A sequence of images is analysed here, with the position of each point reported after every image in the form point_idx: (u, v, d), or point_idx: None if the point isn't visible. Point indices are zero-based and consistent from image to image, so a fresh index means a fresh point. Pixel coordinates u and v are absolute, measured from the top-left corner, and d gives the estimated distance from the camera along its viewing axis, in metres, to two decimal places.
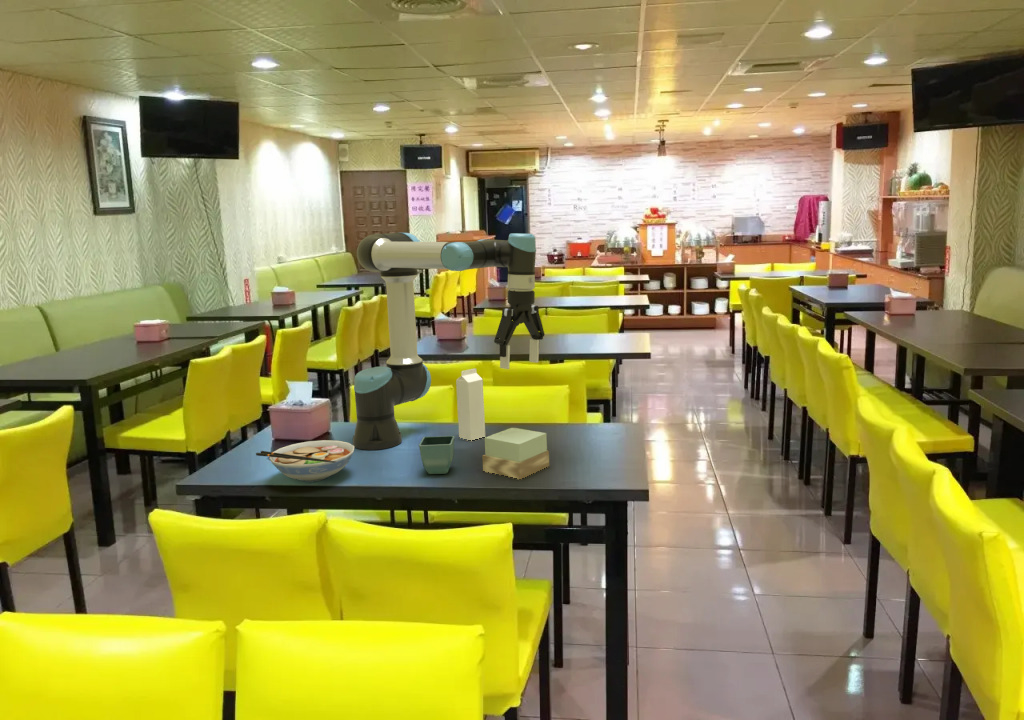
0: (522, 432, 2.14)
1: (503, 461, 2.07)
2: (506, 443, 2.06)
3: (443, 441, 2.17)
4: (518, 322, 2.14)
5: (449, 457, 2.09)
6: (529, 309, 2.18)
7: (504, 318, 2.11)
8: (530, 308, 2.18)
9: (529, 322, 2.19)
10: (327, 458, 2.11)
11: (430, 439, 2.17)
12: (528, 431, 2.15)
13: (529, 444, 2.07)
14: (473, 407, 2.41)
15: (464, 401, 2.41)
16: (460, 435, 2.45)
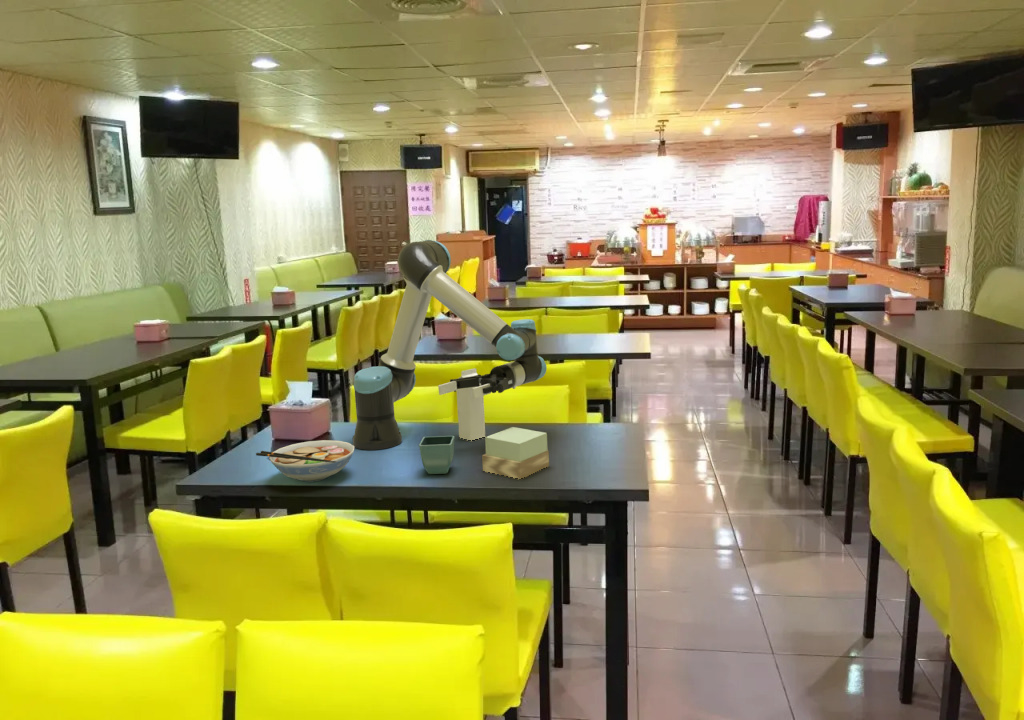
0: (522, 432, 2.15)
1: (503, 461, 2.07)
2: (506, 443, 2.07)
3: (443, 441, 2.17)
4: None
5: (449, 457, 2.09)
6: None
7: (507, 382, 2.23)
8: None
9: (478, 385, 2.29)
10: (327, 458, 2.11)
11: (430, 439, 2.17)
12: (529, 431, 2.16)
13: (530, 443, 2.08)
14: (473, 407, 2.41)
15: (464, 401, 2.41)
16: (460, 435, 2.45)
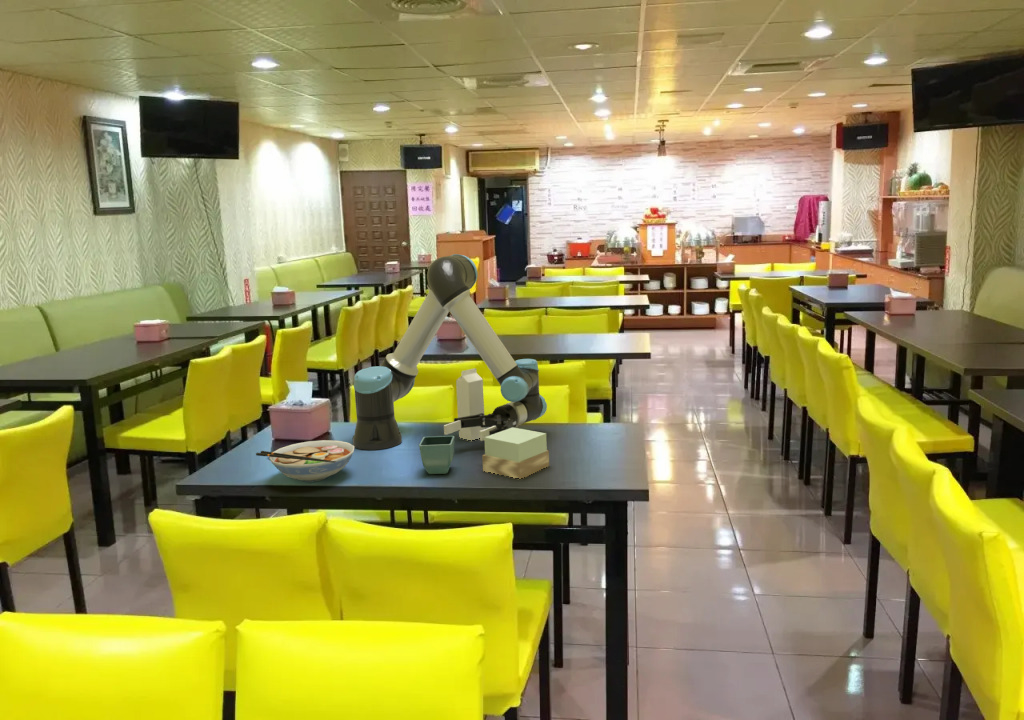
0: (522, 432, 2.14)
1: (503, 461, 2.08)
2: (505, 443, 2.06)
3: (443, 441, 2.17)
4: None
5: (449, 457, 2.09)
6: None
7: (512, 424, 2.26)
8: None
9: (482, 425, 2.31)
10: (327, 458, 2.11)
11: (430, 439, 2.17)
12: (528, 431, 2.15)
13: (529, 444, 2.07)
14: (473, 407, 2.41)
15: (464, 401, 2.41)
16: (460, 435, 2.45)
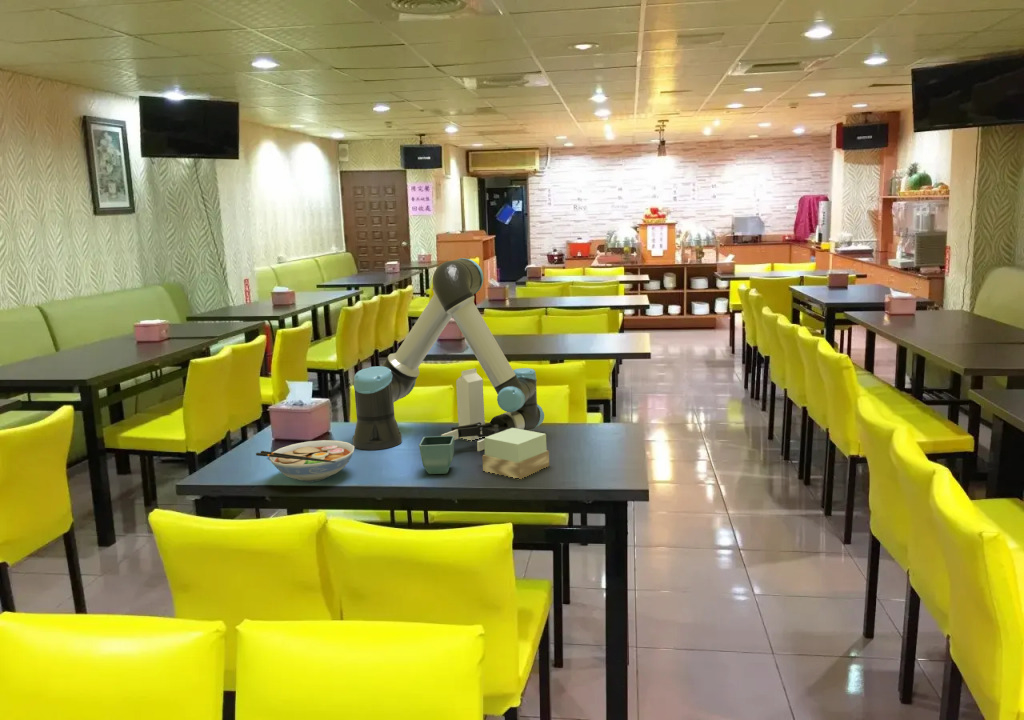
0: (522, 433, 2.14)
1: (503, 461, 2.07)
2: (505, 443, 2.06)
3: (443, 441, 2.17)
4: None
5: (449, 457, 2.09)
6: None
7: None
8: None
9: (479, 434, 2.31)
10: (327, 458, 2.11)
11: (430, 439, 2.17)
12: (528, 431, 2.15)
13: (529, 444, 2.07)
14: (473, 407, 2.41)
15: (464, 401, 2.41)
16: None
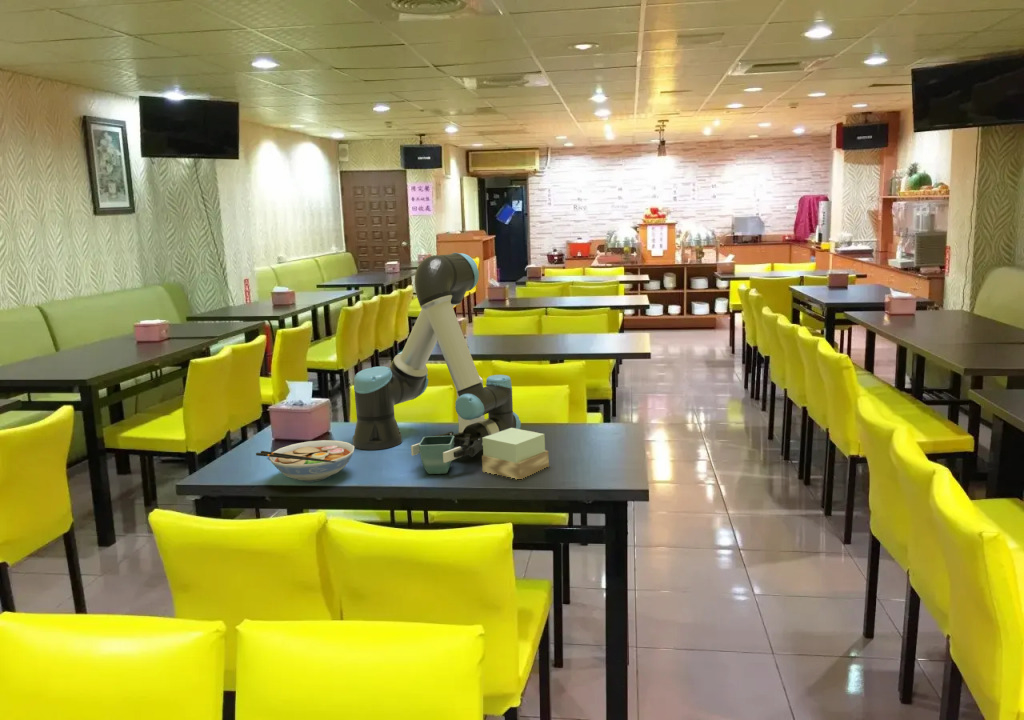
0: (520, 433, 2.14)
1: (503, 461, 2.07)
2: (503, 443, 2.06)
3: (443, 441, 2.17)
4: None
5: None
6: None
7: (481, 444, 2.17)
8: None
9: None
10: (327, 458, 2.11)
11: (430, 439, 2.17)
12: (526, 432, 2.15)
13: (527, 444, 2.07)
14: None
15: None
16: None
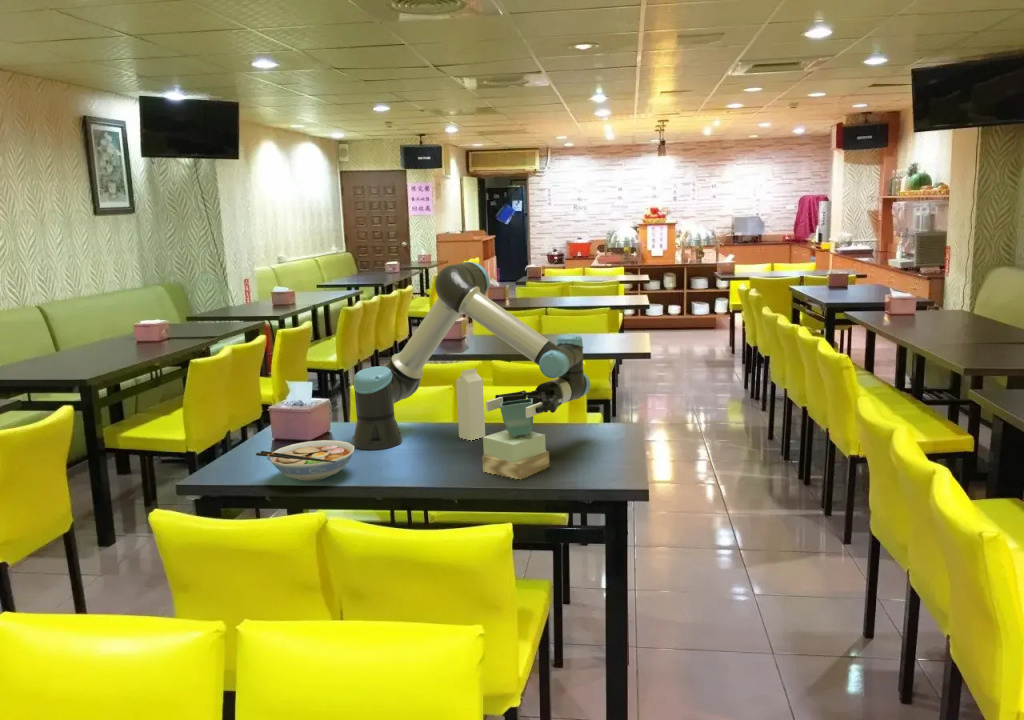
0: None
1: (504, 462, 2.07)
2: (502, 443, 2.07)
3: None
4: None
5: None
6: None
7: (558, 401, 2.14)
8: None
9: None
10: (327, 458, 2.11)
11: (509, 404, 2.15)
12: None
13: (526, 444, 2.07)
14: (473, 407, 2.41)
15: (464, 401, 2.41)
16: (460, 435, 2.45)
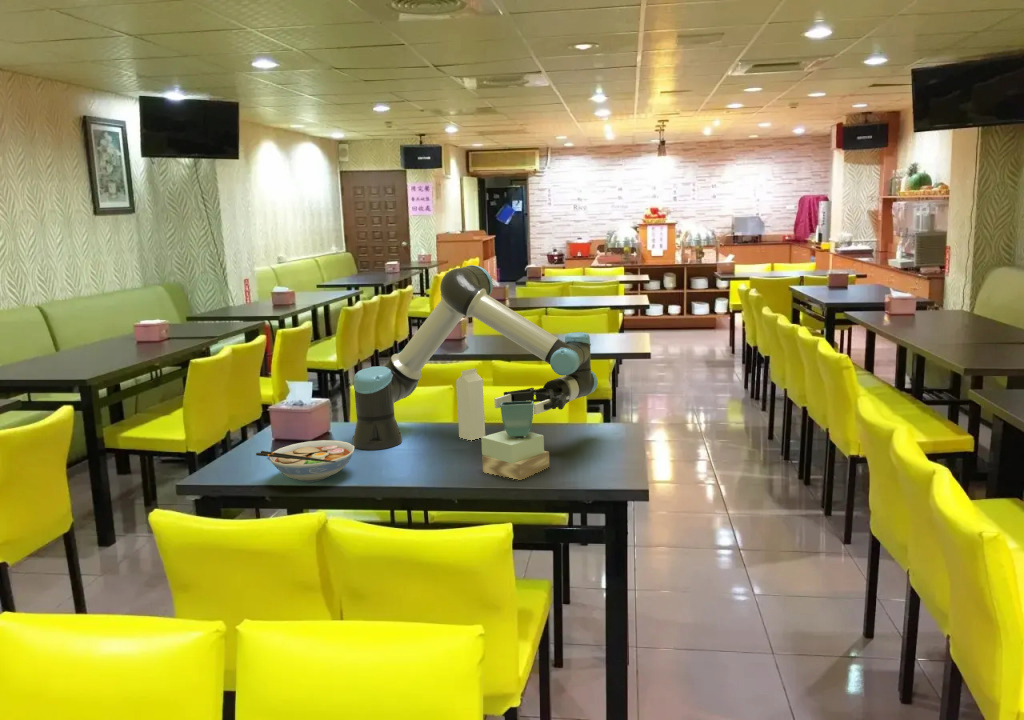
0: None
1: (503, 462, 2.07)
2: (500, 443, 2.06)
3: None
4: None
5: (531, 417, 2.06)
6: None
7: (565, 398, 2.16)
8: None
9: (532, 399, 2.21)
10: (327, 458, 2.11)
11: (509, 404, 2.14)
12: None
13: (524, 445, 2.06)
14: (473, 407, 2.41)
15: (464, 401, 2.41)
16: (460, 435, 2.45)
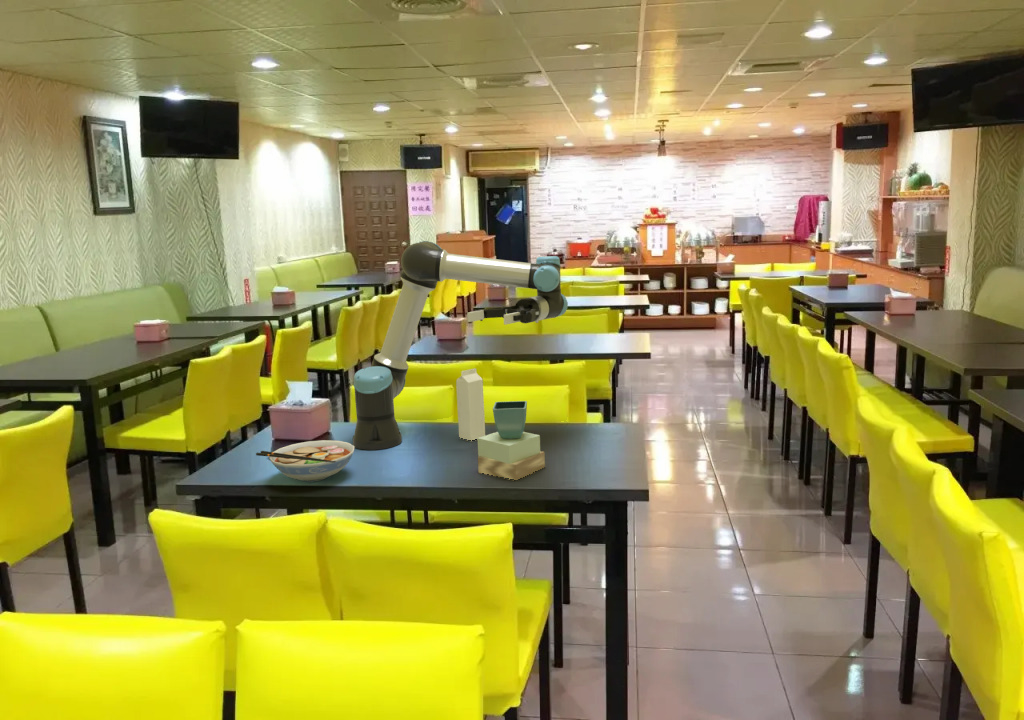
0: None
1: (499, 462, 2.07)
2: (497, 444, 2.06)
3: (515, 406, 2.14)
4: None
5: (523, 421, 2.06)
6: None
7: (535, 313, 2.28)
8: None
9: None
10: (327, 458, 2.11)
11: (502, 404, 2.14)
12: None
13: (521, 445, 2.07)
14: (473, 407, 2.41)
15: (464, 401, 2.41)
16: (460, 435, 2.45)
